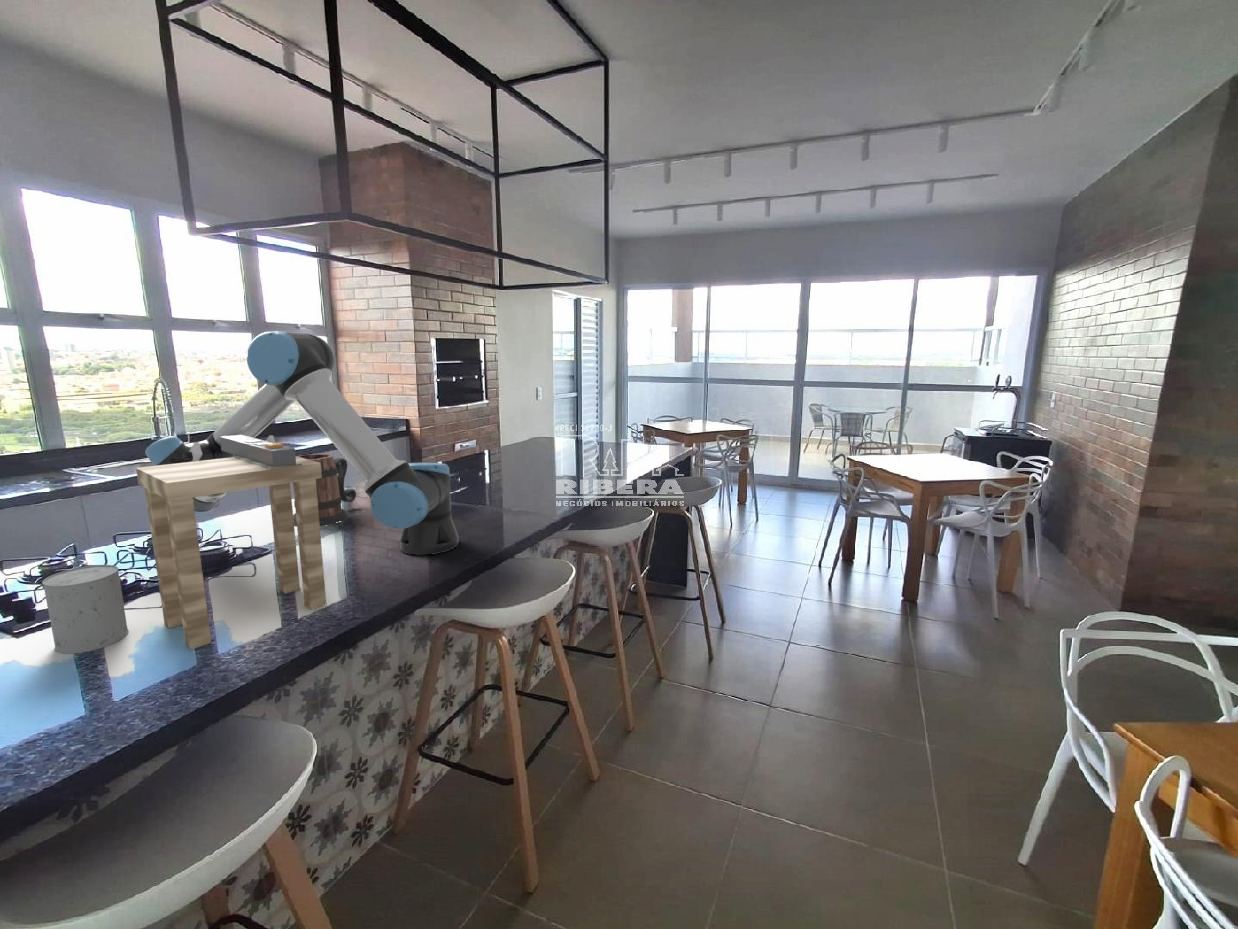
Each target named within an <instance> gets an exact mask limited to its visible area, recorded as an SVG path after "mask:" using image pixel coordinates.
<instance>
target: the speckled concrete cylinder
mask: <svg viewBox="0 0 1238 929" xmlns="http://www.w3.org/2000/svg"><path fill="white" fill-rule="evenodd" d="M41 583H42V586H43V589H44V595H45V601H46V605H47V610H48V617H49V622H50V626H51V632H52V633H51V634H52V638H53V643H54V651H55V652H56V653H58V654H64V655H71V654H74V655H75V654H80V653H81V654H82V653H87V652H92V651H95V650H99V649H103V648H106V647H108V646H111V645H113V644H115V643H118V642H119V641H121V640H123V639H124V638H125V637H127V635H128V634H129V629H128V624H127V618H126V617H127V616H126V612H125V604H124V599H123V592H122V586H121V580H120V573H119V567H118V566H116V565H114V564H113V565H112V564H95V565H87V566H81V567H80V566H79V567H76V568H71V569H66V570H64V571H60V572H57V573H55V574H51V575H50V576H47V577H45V578H44V579H43V580H42V582H41Z"/></svg>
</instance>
